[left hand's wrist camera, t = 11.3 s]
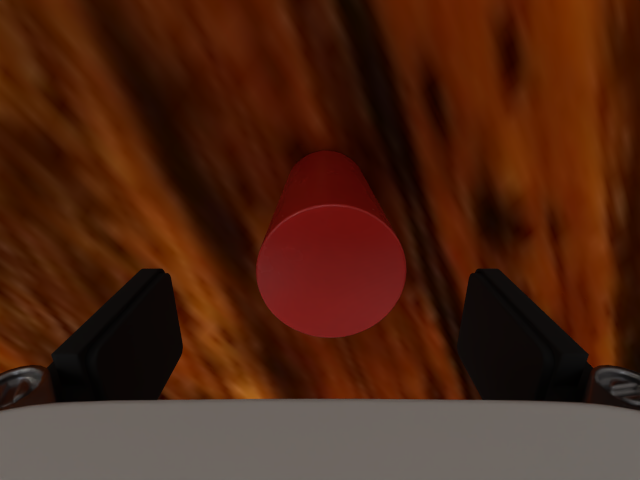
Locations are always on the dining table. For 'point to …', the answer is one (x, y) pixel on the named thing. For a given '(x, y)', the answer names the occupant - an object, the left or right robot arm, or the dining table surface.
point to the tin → (330, 251)
